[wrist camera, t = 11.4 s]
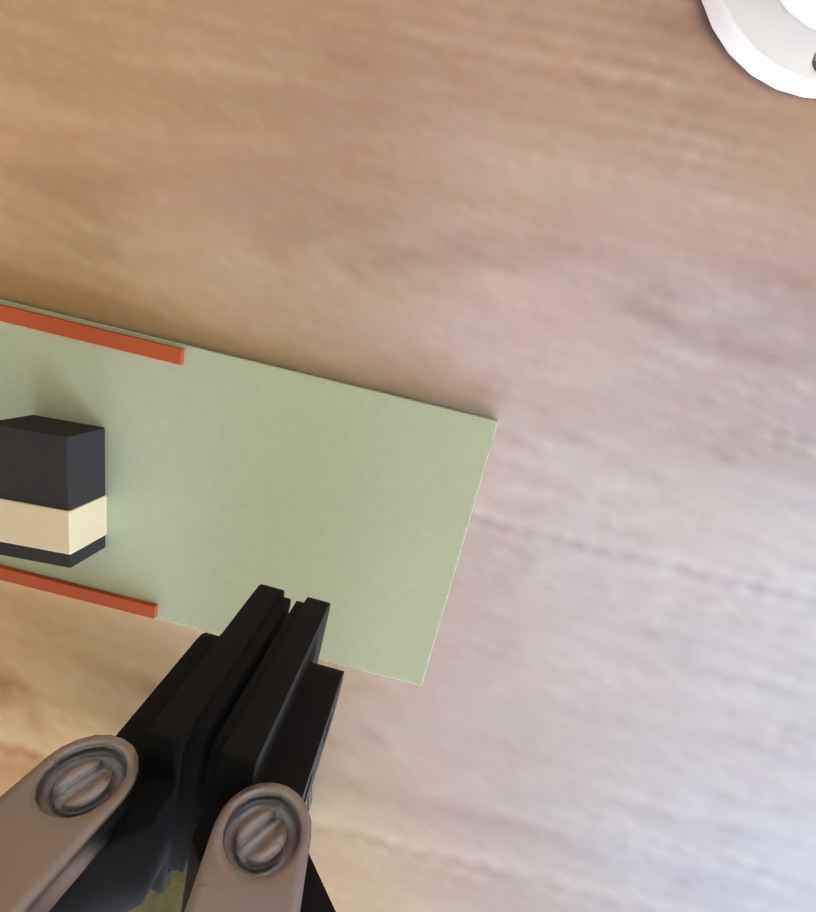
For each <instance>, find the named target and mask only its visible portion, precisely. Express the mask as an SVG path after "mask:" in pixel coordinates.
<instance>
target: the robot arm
mask: <svg viewBox="0 0 816 912" xmlns="http://www.w3.org/2000/svg"><path fill="white" fill-rule="evenodd" d="M701 1H702V3H703V6H704V8H705V11H706V13H707V16H708V19H709V21H710V24H711V26H712V29H713V30H714V32H715V33H716V35H717V36H718V38H719V40H720V41H721V43H722V44H723V46H724V47H725V49H726V50H727V52H728V53H729V55H730V56H731V57H732V58H734V59H735V60H736V61H737V62H738V63H739V64H740V65H741V66H742V67H743V68H744V69H745V70H746V71H747V72H748V73H749V74H750V75H752V76H754V77H755V78H757V79H759V80H761V81H762V82H764V83H766V84H767V85H769V86H771V87H773V88H774V89H776V90H780V91H783V92H787V93H790V94H793V95H797V96H800V97H804V98H816V0H701ZM290 603H291V599H289V598H286V597H284V590H282V589H278V588H274V587H271V586H267V585H263V584H260V585H259V586H258V587H257V588H256V590H255V591H254V592H253V594H252V595H251V596H250V598H249V599H248V600H247V601H246V603H245V604H244V605H243V607H242V608H241V609H240V610H239V612H238V613H237V614H236V616H235V617H234V618H233V620H232V621H231V622H230V623H229V625H228V626H227V627H226V629H225V630H224V631H223V633H222V634H221V635H220V636H216V635H213V634H209V633H204V634H202V635H201V636H200V637H199V638H198V639H197V640H196V641H195V642H194V643H193V645H192V646H191V647H190V648H189V649H188V651H187V652H186V653H185V654H184V655H183V657H182V658H181V659H180V660H179V661H178V662H177V664H176V665H175V666H174V667H173V668H172V670H171V671H170V672H169V673H168V674H167V676H166V677H165V678H164V679H163V680H162V682H161V683H160V684H159V685H158V686H157V688H156V689H155V690H154V691H153V692H152V694H151V695H150V696H149V697H148V698H147V699H146V701H145V702H144V703H143V704H142V705H141V707H140V708H139V709H138V710H137V711H136V713H135V714H134V715H133V716H132V717H131V719H130V720H129V721H128V722H127V723H126V725H125V726H124V727H123V728H122V729H121V731H120V732H119V733H118V734H117V735H116V736H112V735H94V736H90V737H86V738H82V739H78V740H76V741H74V742H72V743H69V744H67V745H65V746H63V747H61V748H60V749H58V750H57V751H55V752H54V753H52V754H51V755H50V756H48V757H47V758H45V759H44V760H43V761H42V762H41V763H40V764H38V765H37V766H36V767H35V768H34V769H33V770H31V771H30V772H29V773H28V774H27V775H26V776H24V777H23V778H22V779H21V780H20V781H19V782H17V783H16V784H15V785H14V786H13V787H12V788H10V789H9V790H8V791H7V792H6V793H5V794H3V795H2V796H1V797H0V912H128V911H130V910H132V909H134V908H135V907H137V906H139V905H140V904H142V903H143V901H144V900H145V898H146V896H147V894H148V892H149V890H153V891H156V892H159V893H163V891H164V889H165V887H166V885H167V883H168V882H169V880H170V878H171V876H172V874H173V872H174V871H178V872H181V873H183V872H184V871H185V870H186V868H187V867H188V868H187V875H186V882H185V889H184V896H183V902H182V909H181V912H335V909H334V907H333V905H332V903H331V901H330V899H329V896H328V894H327V892H326V890H325V888H324V886H323V883H322V881H321V879H320V877H319V875H318V873H317V870H316V868H315V866H314V864H313V862H312V860H311V857H310V855H309V847H310V840H311V818H310V815H309V811H308V808H307V805H306V801H307V798H308V795H309V792H310V789H311V786H312V782H313V779H314V776H315V773H316V770H317V767H318V763H319V760H320V757H321V754H322V751H323V748H324V744H325V741H326V738H327V735H328V732H329V728H330V725H331V721H332V718H333V714H334V711H335V707H336V703H337V699H338V696H339V692H340V688H341V684H342V679H343V675H344V671H341V670H337V669H333V668H330V667H326V666H323V665H319V664H318V659H319V655H320V650H321V646H322V641H323V637H324V633H325V628H326V624H327V619H328V615H329V610H330V603H329V602H325V601H321V600H318V599H314V598H310V597H307V598H306V600H305V602H300V601H296V603H295V604H294V606H293V607H292V609H291V611H290V613H289V609H290Z"/></svg>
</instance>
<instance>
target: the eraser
mask: <svg viewBox="0 0 816 912" xmlns="http://www.w3.org/2000/svg"><path fill="white" fill-rule="evenodd" d="M106 534H107V495H105V428H104V427H99V426H93V425H87V424H82V423H76V422H71V421H65V420H59V419H54V418H48V417H42V416H37V415H29V416H23V417H17V418H11V419H5V420H0V555H4V556H9V557H14V558H20V559H25V560H30V561H36V562H41V563H46V564H51V565H57V566H62V567H67V568H71V567H73V566H75V565H77V564H78V563H80V562H82V561H83V560H85V559H87V558H88V557H90V556H92V555H93V554H95V553H97V552H98V551H100V550H102V549H103V548H105V535H106Z"/></svg>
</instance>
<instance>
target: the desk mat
mask: <svg viewBox="0 0 816 912" xmlns="http://www.w3.org/2000/svg"><path fill="white" fill-rule="evenodd" d="M29 415H37V416H42V417H48V418H54V419H59V420H65V421H71V422H76V423H82V424H87V425H93V426H99V427H104V428H105V495H107V534H106V535H105V548H103V549H102V550H100V551H98V552H97V553H95V554H93V555H92V556H90V557H88V558H87V559H85V560H83V561H82V562H80V563H78V564H77V565H75V566H73V567H71V568H67V567H62V566H57V565H51V564H46V563H41V562H36V561H30V560H25V559H20V558H14V557H9V556H4V555H0V580H4V581H7V582H11V583H15V584H19V585H23V586H27V587H31V588H35V589H39V590H43V591H47V592H51V593H55V594H59V595H63V596H67V597H71V598H74V599H78V600H82V601H86V602H90V603H94V604H98V605H102V606H106V607H110V608H114V609H118V610H122V611H126V612H130V613H134V614H137V615H141V616H145V617H149V618H153V619H154V618H157V619H161V620H165V621H169V622H173V623H177V624H181V625H185V626H188V627H192V628H196V629H200V630H204V631H208V632H212V633H216V634H220V635H221V634H222V633H223V631H224V630H225V629H226V627H227V626H228V625H229V623H230V622H231V621H232V620H233V618H234V617H235V616H236V614H237V613H238V612H239V610H240V609H241V608H242V607H243V605H244V604H245V603H246V601H247V600H248V599H249V598H250V596H251V595H252V594H253V592H254V591H255V590H256V588H257V587H258V586H259V585H260V584H263V585H267V586H271V587H274V588H278V589H282V590H284V597H286V598H289V599H291V603H290V609H289V613H290V611H291V609H292V607H293V606H294V604H295V603H296V601H300V602H305V600H306V598H307V597H310V598H314V599H318V600H321V601H325V602H329V603H330V610H329V615H328V619H327V624H326V628H325V633H324V637H323V641H322V646H321V650H320V655H319V660H322V661H326V662H330V663H334V664H338V665H342V666H346V667H350V668H354V669H358V670H362V671H366V672H370V673H374V674H378V675H382V676H386V677H389V678H393V679H397V680H401V681H405V682H409V683H413V684H417V685H422V683H423V680H424V677H425V673H426V670H427V666H428V663H429V659H430V656H431V652H432V649H433V645H434V642H435V638H436V635H437V631H438V628H439V625H440V621H441V618H442V614H443V611H444V607H445V604H446V600H447V597H448V593H449V590H450V586H451V583H452V580H453V576H454V573H455V569H456V566H457V562H458V559H459V555H460V552H461V548H462V545H463V541H464V538H465V535H466V531H467V528H468V524H469V521H470V517H471V514H472V510H473V507H474V503H475V500H476V496H477V493H478V490H479V486H480V483H481V479H482V476H483V472H484V469H485V465H486V462H487V458H488V455H489V451H490V448H491V444H492V441H493V438H494V434H495V431H496V427H497V424H498V421H497V420H494V419H490V418H486V417H482V416H478V415H474V414H470V413H466V412H462V411H458V410H453V409H449V408H445V407H441V406H437V405H433V404H429V403H425V402H421V401H417V400H412V399H408V398H404V397H400V396H396V395H392V394H388V393H384V392H380V391H376V390H371V389H367V388H363V387H359V386H355V385H351V384H347V383H343V382H339V381H335V380H330V379H326V378H322V377H318V376H314V375H310V374H306V373H302V372H298V371H294V370H289V369H285V368H281V367H277V366H273V365H269V364H265V363H261V362H257V361H253V360H249V359H244V358H240V357H236V356H232V355H228V354H224V353H220V352H216V351H212V350H208V349H203V348H199V347H195V346H191V345H187V344H183V343H179V342H175V341H171V340H167V339H162V338H158V337H154V336H150V335H146V334H142V333H138V332H134V331H130V330H126V329H121V328H117V327H113V326H109V325H105V324H101V323H97V322H93V321H89V320H85V319H80V318H76V317H72V316H68V315H64V314H60V313H56V312H52V311H48V310H44V309H40V308H35V307H31V306H27V305H23V304H19V303H15V302H11V301H7V300H3V299H0V420H5V419H11V418H17V417H23V416H29Z"/></svg>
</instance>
